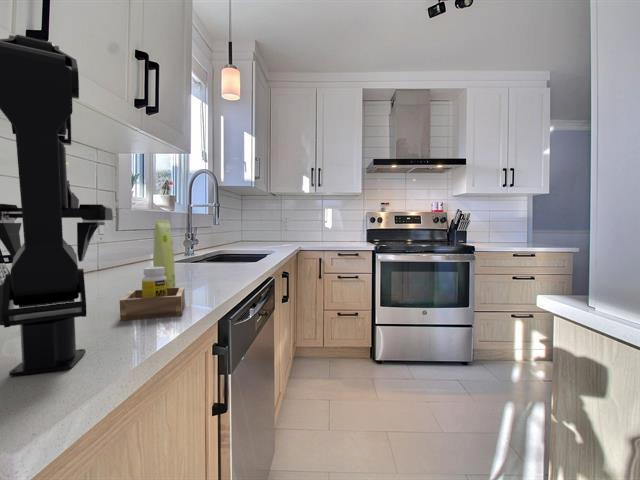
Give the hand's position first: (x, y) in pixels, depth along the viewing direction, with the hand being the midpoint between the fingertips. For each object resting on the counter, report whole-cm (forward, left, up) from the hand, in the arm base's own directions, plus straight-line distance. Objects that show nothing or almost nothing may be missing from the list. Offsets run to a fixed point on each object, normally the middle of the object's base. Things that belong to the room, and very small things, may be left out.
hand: (50, 262), depth 62 cm
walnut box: (+8, -16, -12) cm, 21 cm away
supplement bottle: (+7, -16, -11) cm, 21 cm away
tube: (+18, -16, -12) cm, 27 cm away
